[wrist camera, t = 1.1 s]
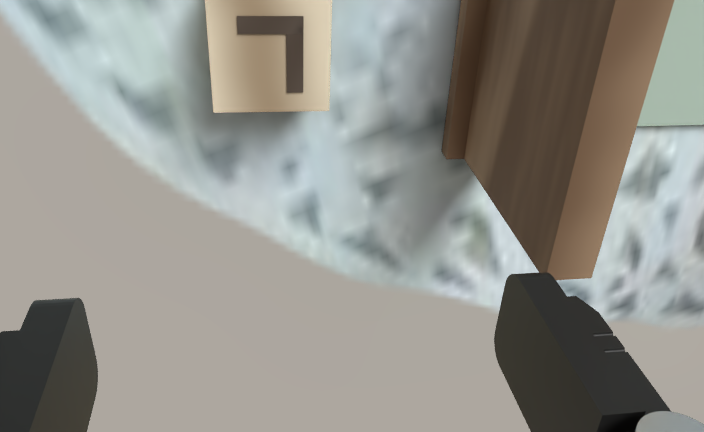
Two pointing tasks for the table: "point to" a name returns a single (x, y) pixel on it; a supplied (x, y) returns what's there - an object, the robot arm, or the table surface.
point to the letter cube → (269, 55)
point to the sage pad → (678, 70)
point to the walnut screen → (552, 114)
